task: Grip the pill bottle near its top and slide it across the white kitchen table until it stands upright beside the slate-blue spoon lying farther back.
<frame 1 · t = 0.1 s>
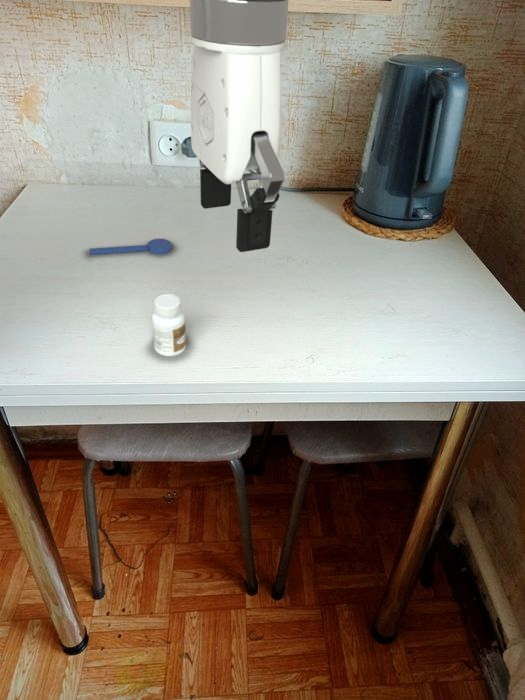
hand: (233, 226, 51), 23 cm above the table, tool pointing down, fingers open, 9 cm apart
pill bottle: (170, 348, 71), on the table
spoon: (133, 250, 91), on the table
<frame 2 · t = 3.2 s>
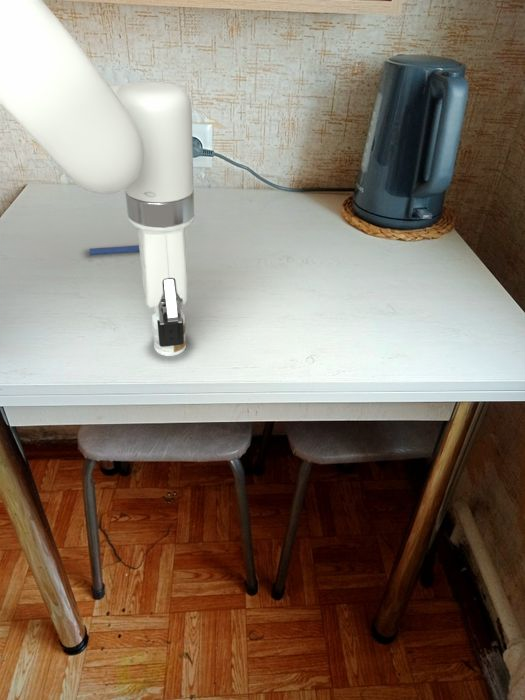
hand: (169, 331, 69), 3 cm above the table, tool pointing down, fingers closed on pill bottle, 4 cm apart
pill bottle: (170, 348, 71), on the table, touching gripper
everything else where it was.
when the fingers open (3 cm above the table, at t = 9.3 s): pill bottle stays where it is, on the table.
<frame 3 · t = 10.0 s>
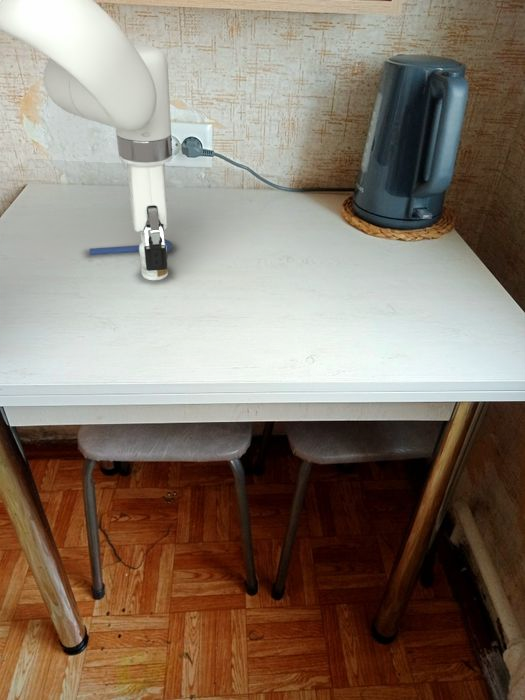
hand: (154, 254, 83), 4 cm above the table, tool pointing down, fingers open, 9 cm apart
pill bottle: (155, 275, 85), on the table
everything else where it was.
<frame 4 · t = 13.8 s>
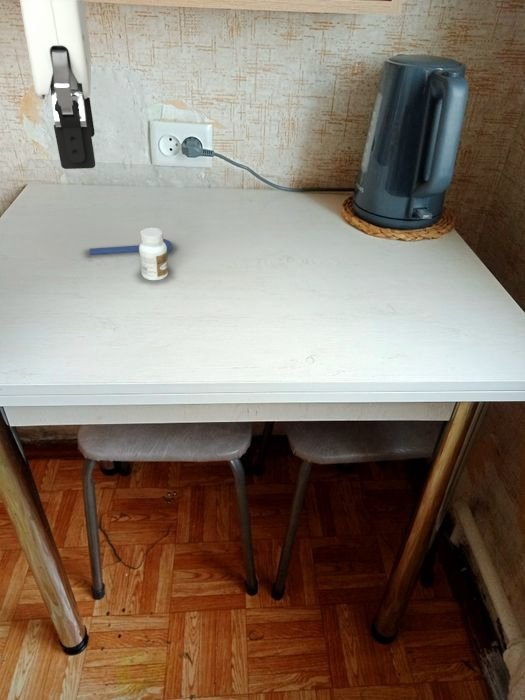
hand: (79, 150, 54), 26 cm above the table, tool pointing down, fingers open, 9 cm apart
nothing on the table moved.
at the end: pill bottle 9.3 cm from the spoon (horizontally); pill bottle moved 19.6 cm from its start; pill bottle tilted 0° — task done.
